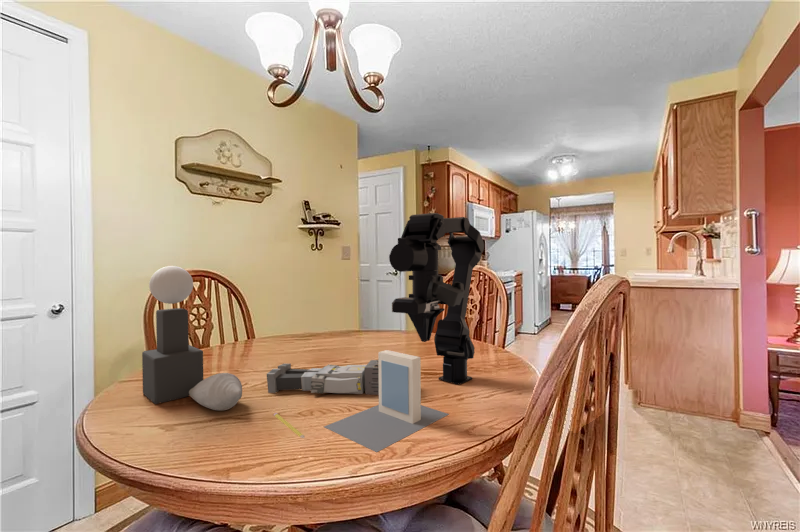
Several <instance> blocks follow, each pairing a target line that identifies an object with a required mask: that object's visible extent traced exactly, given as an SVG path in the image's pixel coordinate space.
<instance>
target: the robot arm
mask: <svg viewBox="0 0 800 532" xmlns="http://www.w3.org/2000/svg"><path fill="white" fill-rule="evenodd" d="M458 233H459V234H460V233H462V234H463V233H464V234H465V235H464V236H463V235H462V236H456V237H455V235H454V234H458ZM446 234H449V237H448V240H447V245H448V246H449V248H450V250H451V252H450V254H451V257H452V259H453V262H454V264H455V265H454V270H453V278H452V280H451V281H452V282H451V283H452V284H451V283H446V282H444V276H443V275H442V274H439V251H441V250H442V247H441V245H440V244H439V243H438V241H439V239H441V238H443V237H445V235H446ZM484 249H485V243H484V240H483V237H482V235H481V232H480V230H478V229H477V228H475V227H474V226H473V225H472V224H471V223H470V220H469V219H468V217H465V216H456V217H444V215H443V214H440V213H438V212H430V213H417V214H412V215H410V216H409V220H407V221H406V224H405V226H404V229H403V232H402V234H401V237H398V238H397V244H395V245H394V246H393V247H392V248H391V250H390V252H389V253H390V254H389V255H388V256H389V257H388V260H389V263H390V266H391V267H392V268H393V270H395V271H397V272H401V273H402V272H403V273H404V272H412V274H411V275H410V274H409V275H408V281H411V282H412V284H411V285H412V289H411V290H412V292H411V293H409V294H408V297H406V296H404V297H397V298H395V299H394V300H393V301H392V302H391V312H392V313H395V314H396V313H398V314H399V313H400V314H407V315H408V317H409V320H410V321H411V322H412V325H413V326H414V329H415V331H416V333H417V335H418V337H419V338H420V341H421V342H422V343H426V342H429V341H430V340H431V337H432V334H433V330H434V327H435V323H436V320H437V317H438V316H439V315H441V313H442V312H444V311H445V309H446V308H443V307H442V308H441V307H440V305H447V306H448V307H447V310H446V312H447V313H446V315H445V316H444V317H443V319H440V318H439V320H438V321H437V325H436V330H435V334H434V338H433V339H434V346H435V352H436V356H437V357H438V356H439V357H440V356H441V357H442V361H443V363H442V376H439V377H438V380H439V381H443V382H447V383H451V384H454V385H462V384H465V383H466V382H469V381H471V380H473V376H470V375H468V360H470V359H471V360H472V359H474V358H475V357H474V356H475V345H474V344H473V342H472V340H471V336H470V329H469V326H468V323H467V322H466V316H467V308H468V303H469V302H468V301H469V295H470V290H471V283H472V277H473V270H474V268H475V267H476V266H477V265H478V263H480V261H481V259H482V253H484Z"/></svg>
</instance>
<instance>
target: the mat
mask: <svg viewBox="0 0 800 532" xmlns="http://www.w3.org/2000/svg"><path fill="white" fill-rule="evenodd" d="M448 415H450V414H449V413H447V412H444V411H441V410H439V409H434V408H431V407H428V406H426V405H422V404H421V420H419V421H417V422H415V423H413V424H412V423H409V422H407V421H404V420H401V419H399V418H396V417H393V416H390V415H388V414H385V413H382V412H380V411H379V404H377V405H374V406H372V407H370V408H366V409H364V410H362V411H359V412H357V413H354V414H352V415H349V416H347V417H344V418H342V419H340V420H337V421H335V422H332V423H329V424H327V425H324V426H323V428H324V429H326V430H329V431H331V432H333V433H336V434H338V435H340V436H341V437H343V438H346V439H348V440H350V441H352V442H354V443H356V444H358V445H361V446H363V447H364V448H366V449H369V450H371V451H373V452H375V453H379V452H380V451H383V450H384V449H385V448H388V447H390V446H392V445H393V444H396V443H397V442H399V441H401V440H403V439H405V438H407V437H409V436H411V435H413V434H414V433H417V432H418V431H420V430H422V429H424V428H426V427H428V426H431V424H433V423H436V422H437V421H439V420H441V419H443V418H445V417H447V416H448Z"/></svg>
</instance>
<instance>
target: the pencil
mask: <svg viewBox="0 0 800 532" xmlns="http://www.w3.org/2000/svg"><path fill="white" fill-rule="evenodd" d="M273 416H274V417H275V418H276V419H277V420H279V421H280V422H281V423H282V424H284V425H285V426H286V427H287V428H288V429H289V430H290V431H291V432H293V433H294V434H295V435H297V436H298V437H299V438H301V439H305V435H304V434H303V433H302V432H301V431H299V429H297V428H296V427H294V426H293V425H292V424H291V423H289V422H288V421H287V420H286V419H285V418H284V417H282V416H281V415H280V414H279V413H277V412H274V414H273Z"/></svg>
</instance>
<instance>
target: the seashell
mask: <svg viewBox="0 0 800 532" xmlns="http://www.w3.org/2000/svg"><path fill="white" fill-rule="evenodd" d="M189 395H190V396H189V397H191V398H192V400H194V401H195V402H196V403H198V404H199V405H201V406H203V407H205V408H207V409H210V410H213V411H220V412H221V411H222V412H223V411H226V410H229V409H232V408H233V407H235V406H236V405H237V403H238V402H239V400H241V399H242V396H243V385H242V381H241V380H240V379H239V377H238V376H236V375H235V374H233V373H229V372H220V373H216V374H212V375H210V376H208V377H206V378H203V380H202V381H201V382H199V383H198V384H197V385H196V386H195V387H193V388H192V389H190V391H189Z"/></svg>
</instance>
